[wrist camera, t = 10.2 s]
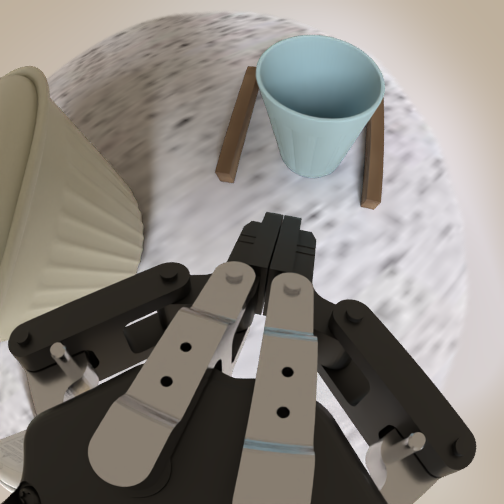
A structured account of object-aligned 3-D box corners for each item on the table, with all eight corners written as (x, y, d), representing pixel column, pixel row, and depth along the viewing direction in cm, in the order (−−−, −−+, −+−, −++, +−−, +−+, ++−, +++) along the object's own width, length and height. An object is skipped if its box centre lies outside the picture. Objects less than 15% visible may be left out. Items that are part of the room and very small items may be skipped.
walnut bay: (220, 181, 24) (215, 171, 23) (250, 78, 26) (247, 66, 24) (373, 209, 23) (380, 202, 21) (378, 100, 24) (383, 88, 22)
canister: (152, 132, 26) (28, -18, 6) (205, 306, 23) (-72, 322, 2) (33, 206, 27) (-98, 149, 7) (60, 355, 24) (-108, 377, 3)
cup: (266, 116, 25) (255, 35, 15) (346, 117, 24) (368, 38, 14) (268, 190, 24) (256, 121, 14) (357, 189, 23) (398, 125, 13)
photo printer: (44, 448, 23) (-17, 476, 11) (35, 420, 23) (-32, 444, 11) (100, 469, 22) (36, 517, 10) (91, 440, 22) (17, 483, 10)
